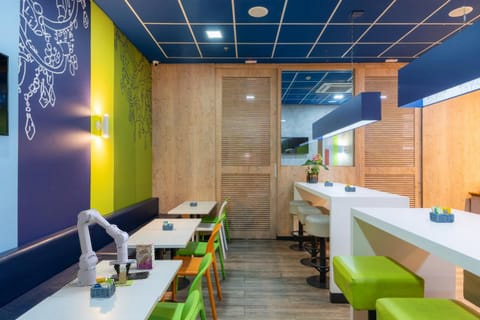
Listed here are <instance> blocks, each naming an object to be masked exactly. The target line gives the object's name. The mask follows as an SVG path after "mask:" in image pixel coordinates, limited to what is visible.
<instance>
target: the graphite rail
mask: <svg viewBox="0 0 480 320" xmlns="http://www.w3.org/2000/svg"><path fill="white" fill-rule="evenodd" d="M149 275H150V271H149V270H148V271H147V270H146V271H137V272H129V274H128V280H133V281H135V280H143V279H144V280H147V279H146V278H149ZM110 279H114V281H116V282H117V281H119V277H118V275H117V273H115V274H112V275H111V276H110V278H109V280H110Z"/></svg>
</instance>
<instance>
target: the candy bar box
mask: <svg viewBox="0 0 480 320" xmlns="http://www.w3.org/2000/svg"><path fill="white" fill-rule="evenodd" d="M135 258H136V263H135V265H136V270H153V269H154V268H155V267H156V261H155V243H154V242H151V243H150V242H148V243H147V242H146V243H144V242H142V243H141V242H140V243H137V244H136V245H135Z"/></svg>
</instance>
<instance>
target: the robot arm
mask: <svg viewBox="0 0 480 320" xmlns="http://www.w3.org/2000/svg"><path fill="white" fill-rule="evenodd" d="M93 222H94V223H97V224H98V225H99V226H101V227H103V229H105V232H106V234H108V235H109V236H111V238H113V239H114V242H115V245H116V256H117V257H116V258H117V259H116V260H112V261H109V262H108V265H109V267H110V266H113V269H114V270H115V273H116V274H117V275H118V277H119V273H120V272H121V265H125V269H126V270H125V271H126V277H128V274H129V273H130V270H131V266H132V264H134V265H136V259H134V258H133V259H130V258H129V257H128V255H129V254H128V253H129V252H128V240H129V238H130V237H129V234H128V233H127V232H126V231H123V230H121V229H119V228H118V225H116V224H110V223H109V221H107V220H106V219H105V218H104V217H103V216H102V215H101V214H100V211H99V210H97V209H96V208H90V209H86V210H82V211H80V212H79V213H78V214H77V224H76V225H77V226H76V227H77V232H78V238H79V244H80V249H81V255H80V257H79V263H78V266H79V270H77V287H85V286H95V285H96V283H97V282H96V279H97V271H96V270H97V269H96V267H97V264H98V262H99V258H98V256H97V254H96V251H93V248H92V242H91V236H90V231H89V225H90V224H91V223H93ZM128 258H129V259H128Z"/></svg>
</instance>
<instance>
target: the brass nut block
mask: <svg viewBox="0 0 480 320" xmlns="http://www.w3.org/2000/svg"><path fill="white" fill-rule="evenodd" d="M127 281H128V277H126V270H123V271H121V270H120V273H119V283H126V282H127Z"/></svg>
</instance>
